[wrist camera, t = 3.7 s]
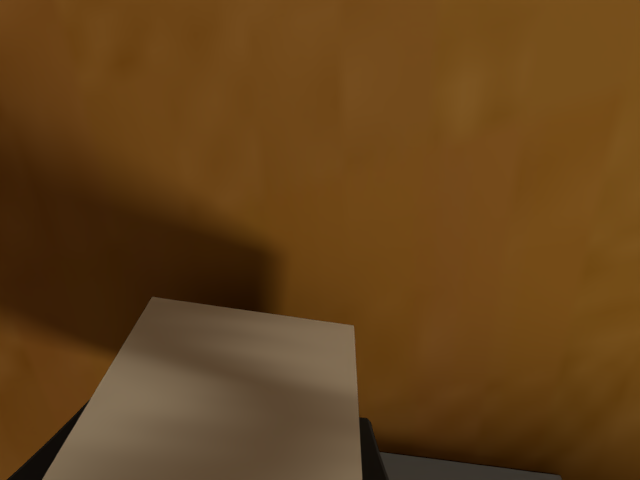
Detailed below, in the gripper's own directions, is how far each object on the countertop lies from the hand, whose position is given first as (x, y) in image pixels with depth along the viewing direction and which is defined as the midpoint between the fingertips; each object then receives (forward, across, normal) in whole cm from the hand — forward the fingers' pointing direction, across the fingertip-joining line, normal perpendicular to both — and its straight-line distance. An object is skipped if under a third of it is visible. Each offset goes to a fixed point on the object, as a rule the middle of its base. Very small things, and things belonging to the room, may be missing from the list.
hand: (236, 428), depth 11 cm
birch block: (+2, 0, 0) cm, 2 cm away
